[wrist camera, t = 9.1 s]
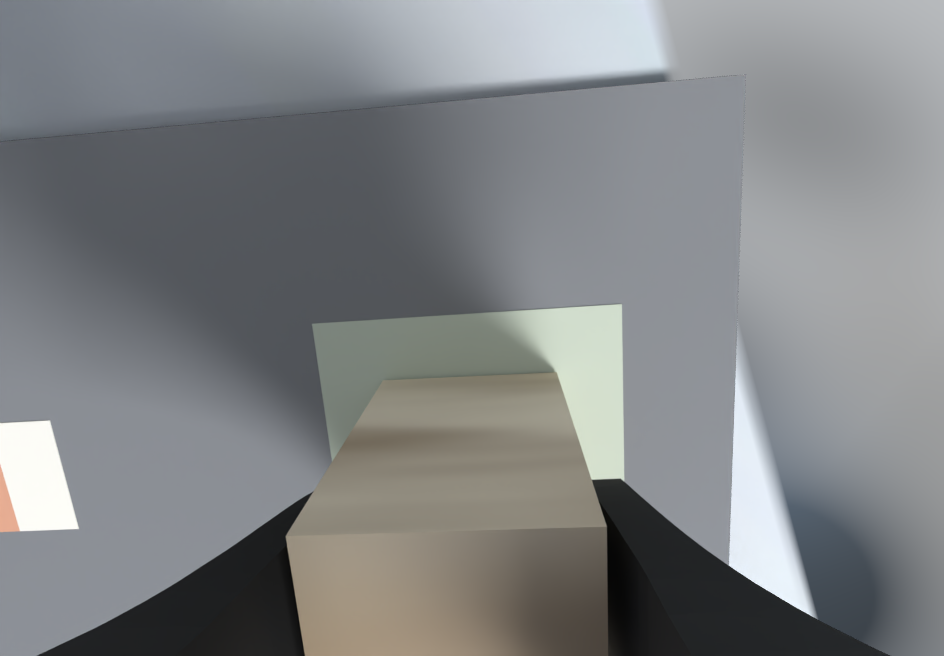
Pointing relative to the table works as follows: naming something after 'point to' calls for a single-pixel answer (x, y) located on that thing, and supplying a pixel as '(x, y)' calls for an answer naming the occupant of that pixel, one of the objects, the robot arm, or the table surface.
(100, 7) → the table surface
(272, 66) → the table surface
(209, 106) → the table surface
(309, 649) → the birch block
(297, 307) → the mat
